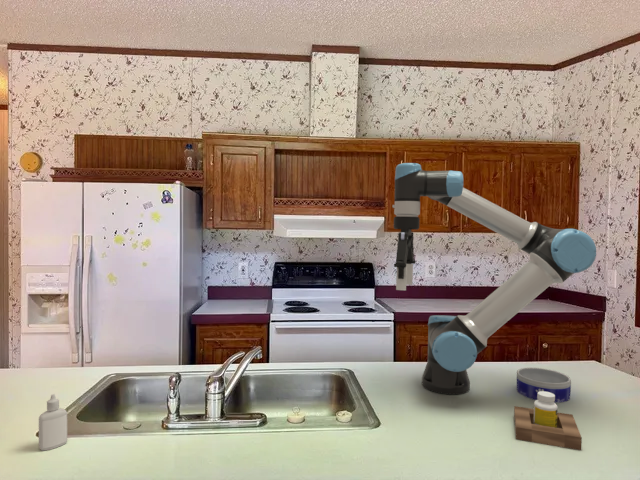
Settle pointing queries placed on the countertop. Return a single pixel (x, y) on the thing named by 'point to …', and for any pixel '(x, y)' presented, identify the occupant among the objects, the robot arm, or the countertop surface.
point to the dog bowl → (543, 383)
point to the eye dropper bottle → (52, 426)
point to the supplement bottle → (545, 410)
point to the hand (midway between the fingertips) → (404, 287)
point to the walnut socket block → (547, 429)
